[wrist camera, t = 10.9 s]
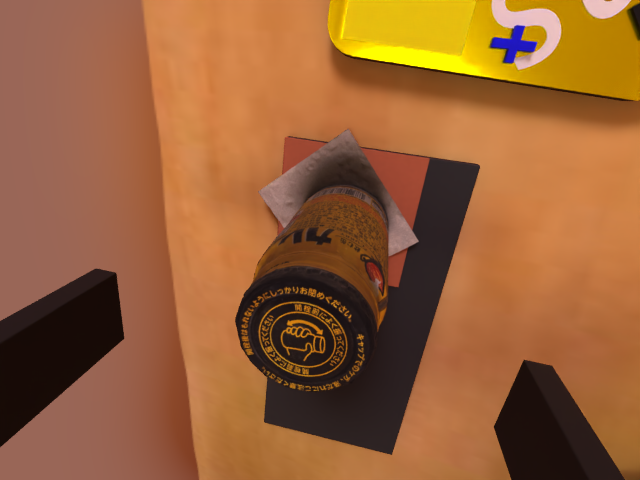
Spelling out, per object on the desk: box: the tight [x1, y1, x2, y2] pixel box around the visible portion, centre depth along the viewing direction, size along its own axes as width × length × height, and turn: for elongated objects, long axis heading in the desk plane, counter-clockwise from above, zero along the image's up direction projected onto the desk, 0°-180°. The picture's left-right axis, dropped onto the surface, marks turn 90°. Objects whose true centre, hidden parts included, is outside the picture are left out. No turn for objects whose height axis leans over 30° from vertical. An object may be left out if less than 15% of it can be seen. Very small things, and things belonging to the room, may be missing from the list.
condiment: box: [235, 129, 419, 392], centre depth 17 cm, size 7×8×12 cm
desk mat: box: [264, 136, 480, 455], centre depth 26 cm, size 26×12×1 cm, turn 173°
